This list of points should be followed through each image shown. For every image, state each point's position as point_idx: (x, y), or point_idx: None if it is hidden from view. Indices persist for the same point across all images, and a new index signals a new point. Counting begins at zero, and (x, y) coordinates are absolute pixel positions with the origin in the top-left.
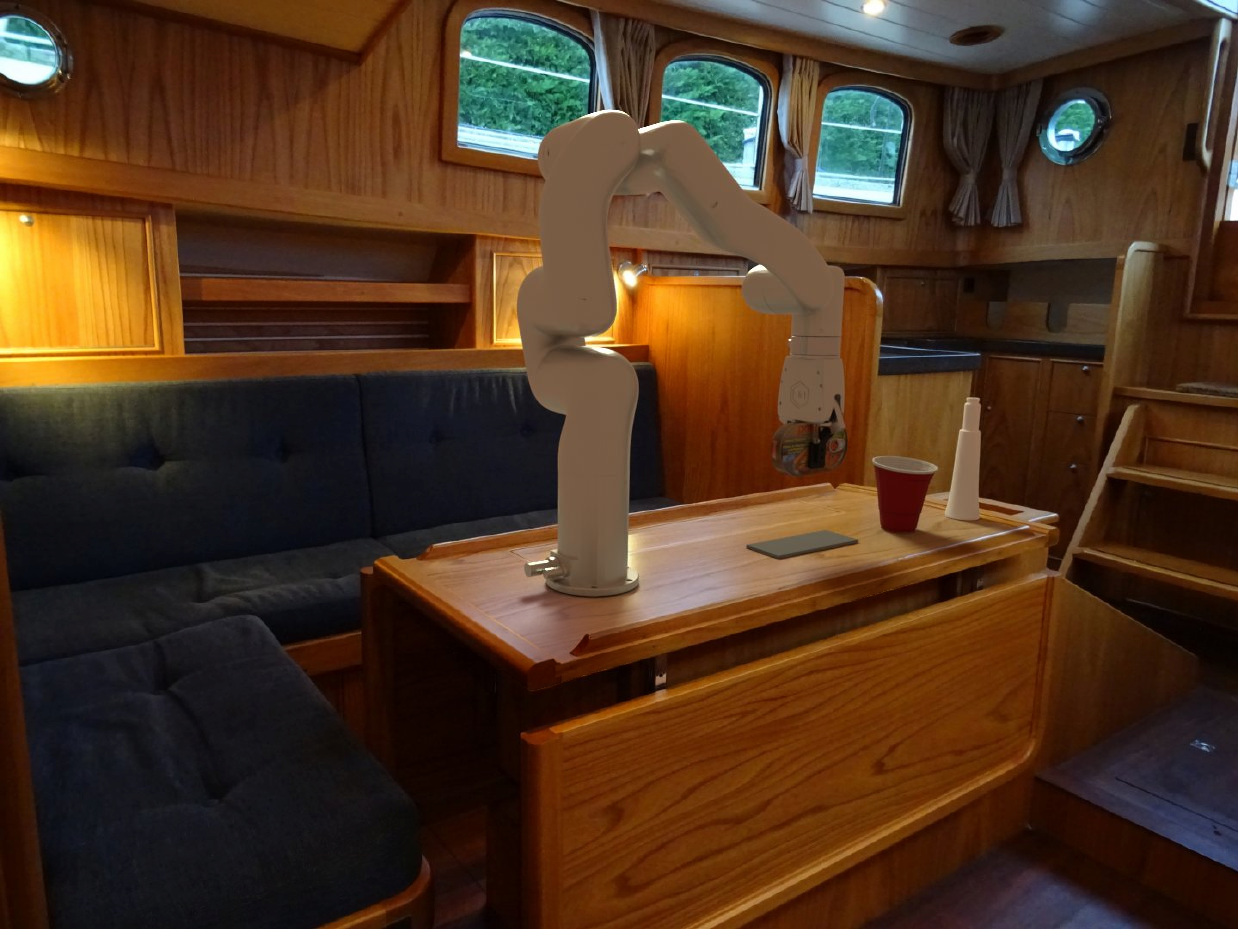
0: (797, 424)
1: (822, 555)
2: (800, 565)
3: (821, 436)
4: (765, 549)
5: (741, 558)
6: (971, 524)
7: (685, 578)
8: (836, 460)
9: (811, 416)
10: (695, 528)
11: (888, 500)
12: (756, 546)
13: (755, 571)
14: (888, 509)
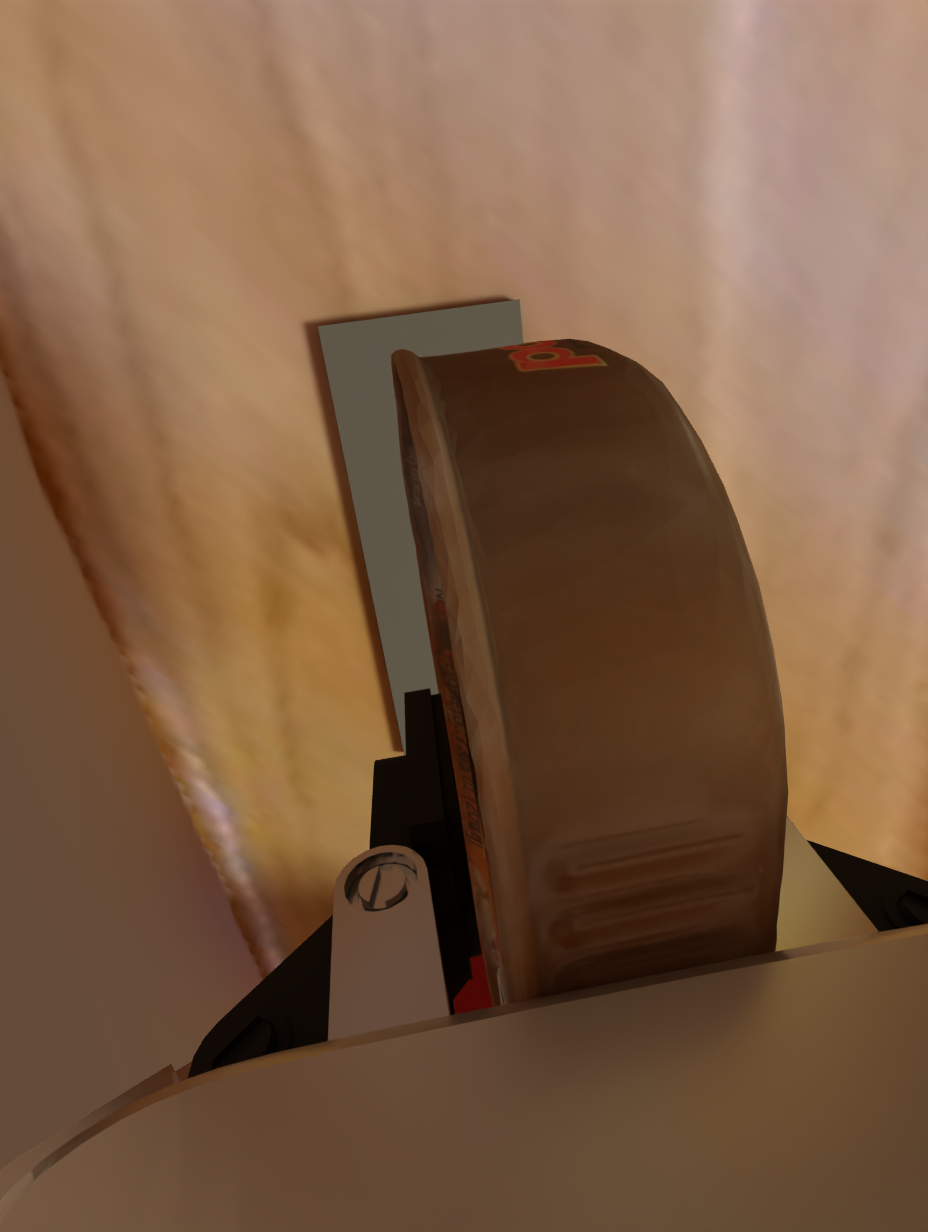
0: (539, 861)
1: (309, 541)
2: (209, 362)
3: (328, 963)
4: (422, 335)
5: (386, 159)
6: None
7: None
8: (498, 947)
9: (277, 1207)
10: (874, 275)
11: (481, 991)
12: (476, 325)
13: (176, 75)
14: (478, 962)
